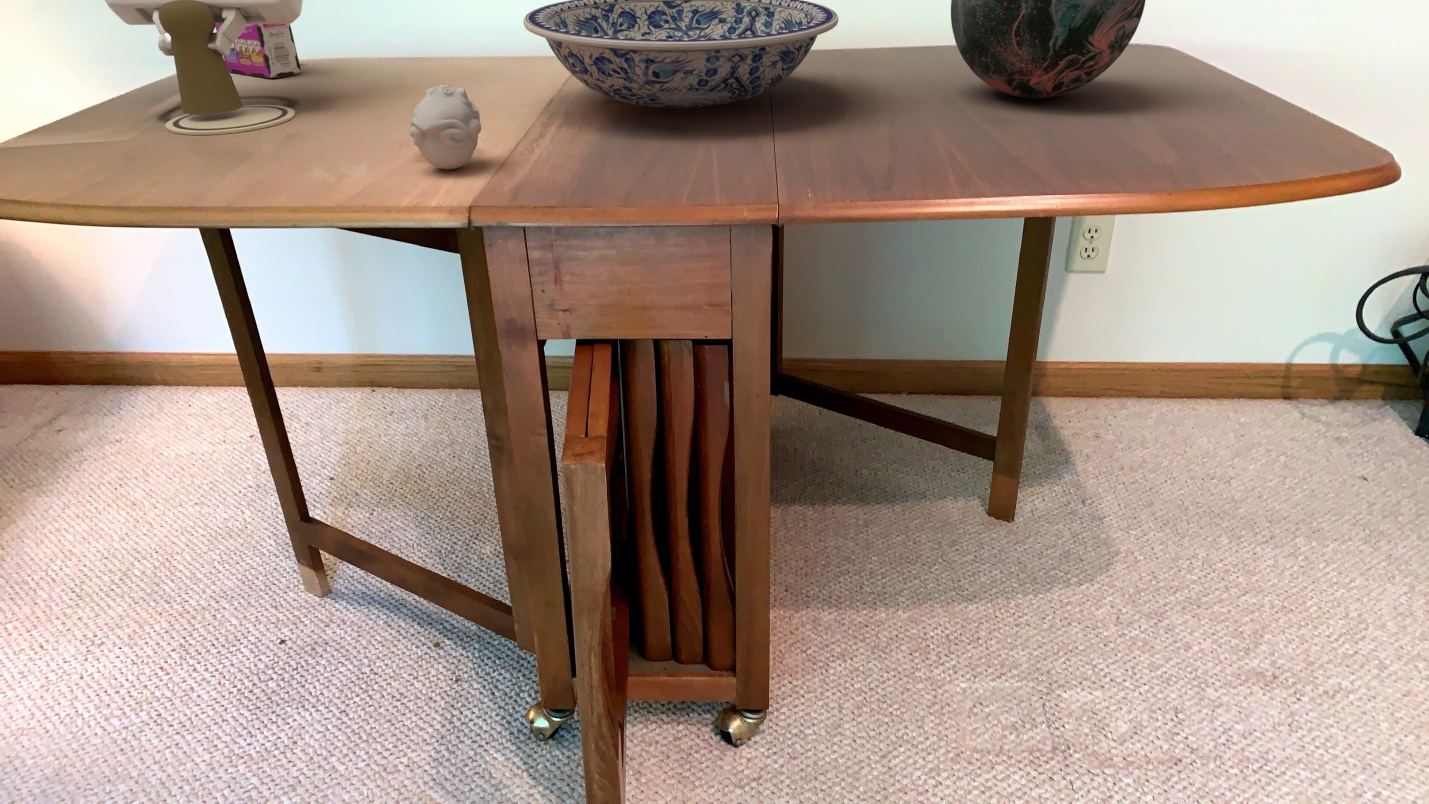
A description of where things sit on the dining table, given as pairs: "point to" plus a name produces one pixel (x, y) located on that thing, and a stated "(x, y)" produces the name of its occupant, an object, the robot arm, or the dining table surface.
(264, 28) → the candy bar box
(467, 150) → the frog figurine
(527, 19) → the ceramic bowl
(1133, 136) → the dining table surface
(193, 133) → the round coaster
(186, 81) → the cork
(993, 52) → the decorative sphere
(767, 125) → the dining table surface
